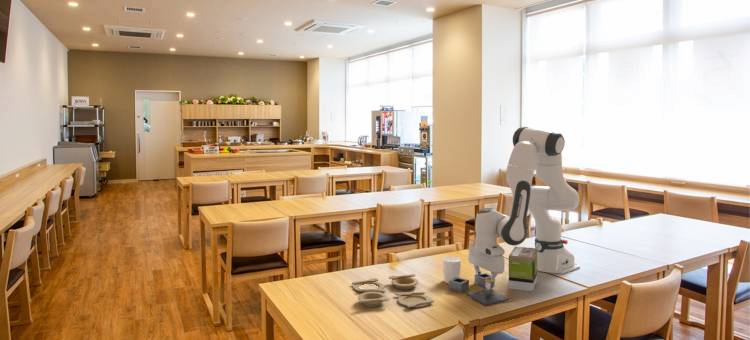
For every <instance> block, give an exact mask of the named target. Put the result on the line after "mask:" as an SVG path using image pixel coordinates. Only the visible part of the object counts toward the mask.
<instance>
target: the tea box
mask: <svg viewBox="0 0 750 340" xmlns="http://www.w3.org/2000/svg"><path fill="white" fill-rule="evenodd" d="M537 282H538V270H537V248H535V247H524V246H517V245H514V247H513V249H512V251H510V253H509V255H508V289H509V290H511V289H512V290H518V291H524V292H533V291H534V288H535V286H536V284H537Z"/></svg>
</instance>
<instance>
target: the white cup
mask: <svg viewBox="0 0 750 340" xmlns="http://www.w3.org/2000/svg"><path fill="white" fill-rule="evenodd" d="M461 267H462V259H461V258H460V257H457V256H445V257H443V258H442V268H443V281H444V283H447V284H449V281H450V280H452V279H454V278H456V277H458V278H461V269H462V268H461Z"/></svg>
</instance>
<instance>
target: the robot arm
mask: <svg viewBox="0 0 750 340" xmlns="http://www.w3.org/2000/svg"><path fill="white" fill-rule="evenodd" d="M565 142H566V141H565V138H564V135H563V134H562V133H561V132H558V131H556V130H549V129H546V128H541V127H540V128H538V127H537V128H536V127H528V126H522V127H521V126H520V127H519V128H517V129H516V130H515V131H514V132H513V135H512V145H513V148H512V152H511V154H510V156H509V159H508V163H507V167H506V173H505V181H506V183H507V185H508V186H509V188H510V191H511V193H512V201H511V202H512V203H511V208H510V214H509V215H506V214H503V213H501V212H499V211H498V210H496V209H495V208H493V207H492V208H491V207H485V208H482V209H480V210H478V211H477V213H476V217H475V224H474V225H475V237H474V238H475V239H474V242H471V243H470V245H469V246H470V247H469V250H468V255H467V256H468V257H467V258H468V259H467V260H468V262H469V263H470V264H472V265H473V267H474V270H475V275H476V274H482V270H480V268H481V269H484V270H486V271H487V272H488V271H489V272H490V275H492V276H491V277H490V279H491V282H496V278H497V275H501V274H504V273H505V256H504V254H505V252H506V251H505V249H504V248H503V247H502V246H500V244H499V243H498V242H497V241H498V240H497V239H498V238H500V239H502V240H503V241H504V242H505V243H506V244H508V245H510V246H518V245H519V246H520V245H521V244H522V243H524V241H525V240H526V239H527V236H528V226H527V216H528V211H529V212H530V214H531V215H532V217H533V219H534V222H535V238H534V248H537V272H543V273H551V274H560V275H564V274H566V273H570V272H571V271H575V270H578V269H580V268H581V265H579V264H578V263H576V262H575V256H574V254H573V252H571V251H570V250H568V249H567V248H566V247H565V246H564V245H568V243H569V241H568V240H567V239H562V224H561V222H560V220H558V219H557V218H556V217H554V216H552V215H550V214H549V211H556V212H557V211H559V212H560V211H561V212H564V211H565V212H567V211H574V210H575V209H577V208H578V206H579V204H580V195H579V193H578V191H577V190H576V189H575V188H574V187H572V186H570V184H568V182H567V181H566V180H565V178H564V175H563V155H562V152H563V150H564V148H565ZM535 172H536V173H535ZM534 174H535V175H536V177H537V179H538V180H540V181H541V182H542V183H544V184H545V185H546V186H545V185H532V183H533V178H534Z"/></svg>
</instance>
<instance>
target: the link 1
mask: <svg viewBox="0 0 750 340" xmlns="http://www.w3.org/2000/svg"><path fill="white" fill-rule="evenodd" d="M468 290H470V280H469V279H466V278H463V277H462V278H461V277H460V278H458V277H456V278H454V279H452V280H450V281H449V283H448V291H451V292H454V293H458V294H463V293H465V292H467V291H468Z"/></svg>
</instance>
